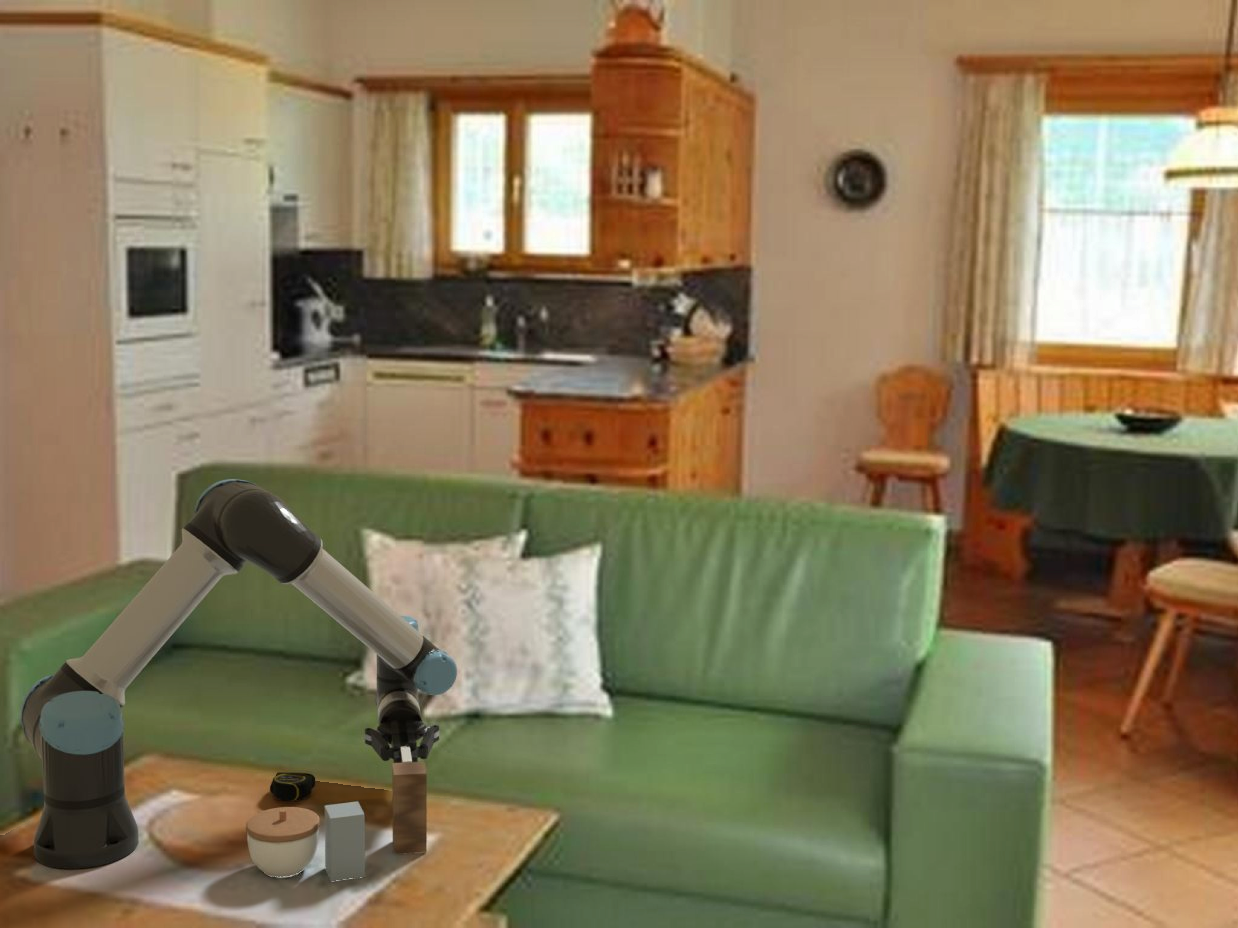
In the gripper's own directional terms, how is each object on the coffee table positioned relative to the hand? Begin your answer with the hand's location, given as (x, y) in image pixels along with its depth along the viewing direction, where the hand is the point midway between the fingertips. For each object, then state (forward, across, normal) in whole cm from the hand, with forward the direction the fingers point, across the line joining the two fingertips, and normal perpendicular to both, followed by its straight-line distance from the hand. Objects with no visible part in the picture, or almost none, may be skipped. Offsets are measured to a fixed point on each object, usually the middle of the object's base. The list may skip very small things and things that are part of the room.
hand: (407, 769), depth 226 cm
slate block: (+15, +10, -10) cm, 20 cm away
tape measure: (-16, +19, -10) cm, 27 cm away
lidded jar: (+12, +19, -10) cm, 25 cm away
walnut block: (+7, 0, -10) cm, 12 cm away
